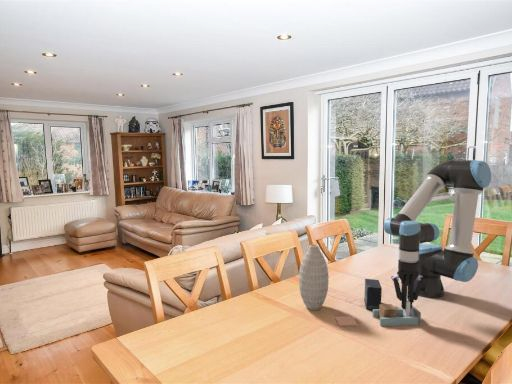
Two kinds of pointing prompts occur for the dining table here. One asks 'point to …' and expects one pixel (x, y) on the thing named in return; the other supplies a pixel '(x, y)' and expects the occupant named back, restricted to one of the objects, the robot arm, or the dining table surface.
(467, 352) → the dining table surface
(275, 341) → the dining table surface
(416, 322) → the channel
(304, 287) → the vase
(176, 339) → the dining table surface
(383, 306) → the block
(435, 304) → the dining table surface
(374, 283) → the small box
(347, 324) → the tile
